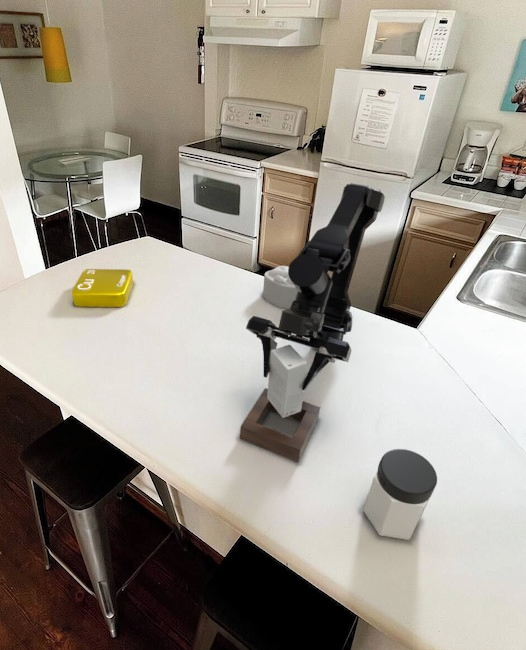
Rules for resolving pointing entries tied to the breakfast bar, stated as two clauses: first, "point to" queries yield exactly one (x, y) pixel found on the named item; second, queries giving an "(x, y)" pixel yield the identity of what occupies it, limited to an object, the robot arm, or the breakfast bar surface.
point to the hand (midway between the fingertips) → (283, 383)
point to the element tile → (103, 288)
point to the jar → (400, 493)
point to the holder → (274, 439)
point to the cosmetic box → (286, 380)
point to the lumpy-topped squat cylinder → (279, 287)
